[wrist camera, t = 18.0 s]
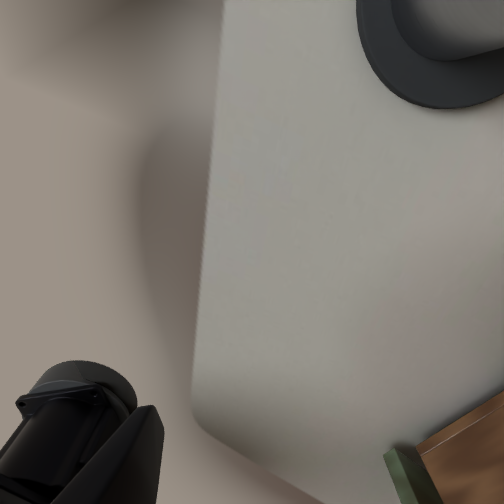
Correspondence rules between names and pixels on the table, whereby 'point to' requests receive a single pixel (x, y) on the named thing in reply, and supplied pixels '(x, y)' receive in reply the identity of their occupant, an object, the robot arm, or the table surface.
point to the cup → (450, 26)
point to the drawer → (456, 461)
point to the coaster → (425, 65)
